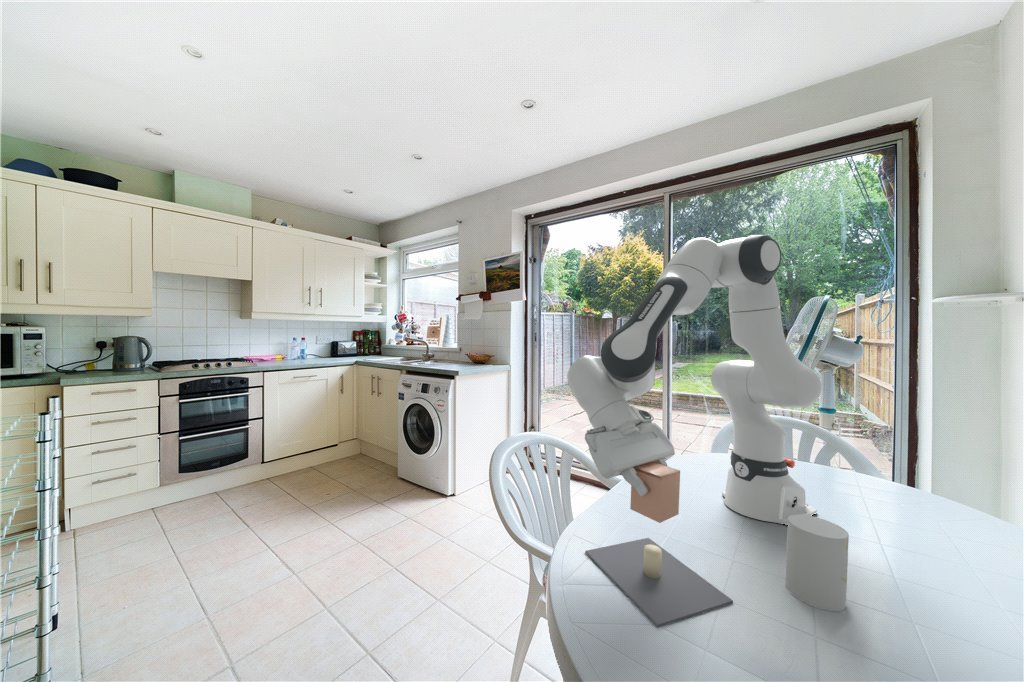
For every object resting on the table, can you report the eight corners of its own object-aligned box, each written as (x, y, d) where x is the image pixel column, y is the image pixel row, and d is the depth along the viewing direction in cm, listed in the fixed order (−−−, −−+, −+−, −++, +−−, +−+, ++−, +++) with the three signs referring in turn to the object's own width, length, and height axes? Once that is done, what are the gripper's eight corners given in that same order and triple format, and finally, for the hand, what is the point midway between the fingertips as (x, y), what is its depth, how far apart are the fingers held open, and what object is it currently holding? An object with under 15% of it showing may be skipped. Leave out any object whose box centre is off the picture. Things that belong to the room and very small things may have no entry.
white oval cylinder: (858, 615, 59) (861, 541, 59) (801, 606, 60) (804, 534, 60) (826, 582, 67) (828, 517, 67) (776, 575, 68) (778, 512, 68)
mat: (648, 539, 79) (649, 517, 79) (733, 603, 61) (734, 573, 61) (585, 552, 74) (586, 528, 74) (657, 627, 55) (658, 595, 55)
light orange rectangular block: (649, 501, 71) (650, 460, 71) (678, 514, 66) (680, 470, 66) (630, 509, 68) (631, 466, 68) (659, 523, 63) (661, 477, 63)
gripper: (590, 421, 66) (634, 494, 59) (655, 411, 78) (698, 470, 71) (572, 439, 70) (611, 510, 62) (636, 427, 82) (676, 485, 74)
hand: (658, 489), depth 67 cm, fingers closed on light orange rectangular block, 6 cm apart
